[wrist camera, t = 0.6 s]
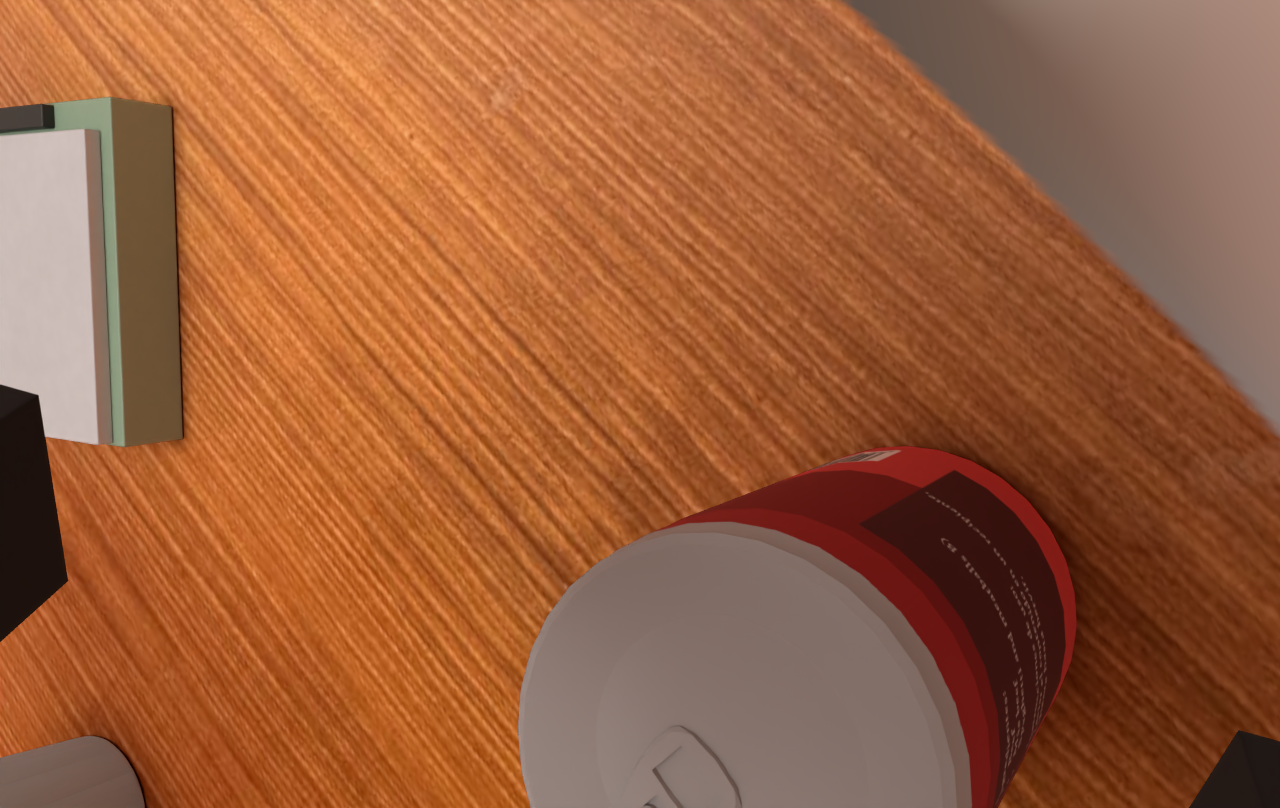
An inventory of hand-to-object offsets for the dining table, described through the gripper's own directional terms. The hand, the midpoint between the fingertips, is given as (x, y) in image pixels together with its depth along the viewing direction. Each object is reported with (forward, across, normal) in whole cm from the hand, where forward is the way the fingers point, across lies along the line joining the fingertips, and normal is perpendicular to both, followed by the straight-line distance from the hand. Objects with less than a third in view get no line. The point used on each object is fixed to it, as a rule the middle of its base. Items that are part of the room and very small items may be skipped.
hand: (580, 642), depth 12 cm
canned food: (+13, +6, -8) cm, 17 cm away
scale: (+24, -26, -12) cm, 38 cm away
